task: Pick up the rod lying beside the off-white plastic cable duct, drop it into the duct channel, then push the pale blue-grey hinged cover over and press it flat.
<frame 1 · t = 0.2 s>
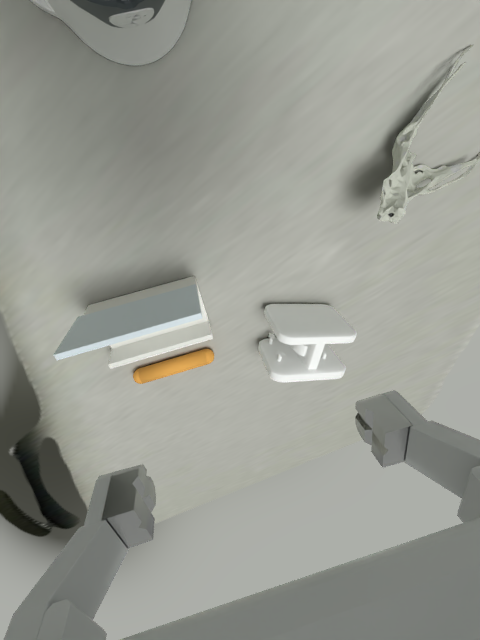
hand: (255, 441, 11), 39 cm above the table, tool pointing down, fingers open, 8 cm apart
rod: (174, 361, 57), on the table
duct: (152, 314, 51), on the table
skeletal model: (403, 155, 46), on the table
cable organizer: (292, 323, 59), on the table
cover: (134, 317, 39), point 10 cm above the table, hinge at 95.0°
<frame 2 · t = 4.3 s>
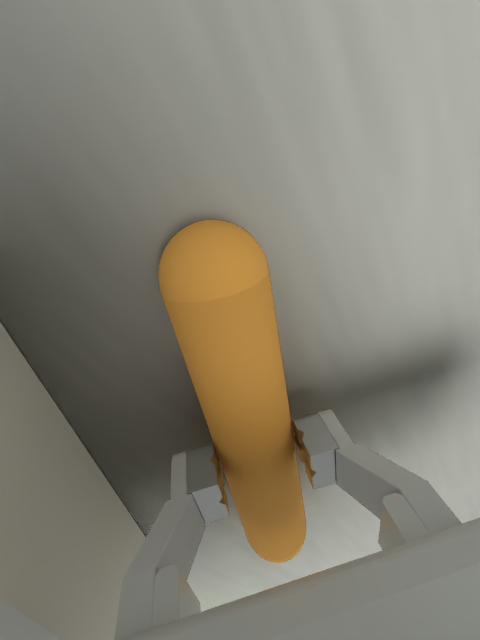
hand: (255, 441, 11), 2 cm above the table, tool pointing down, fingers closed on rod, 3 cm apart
rod: (245, 406, 12), on the table, touching gripper
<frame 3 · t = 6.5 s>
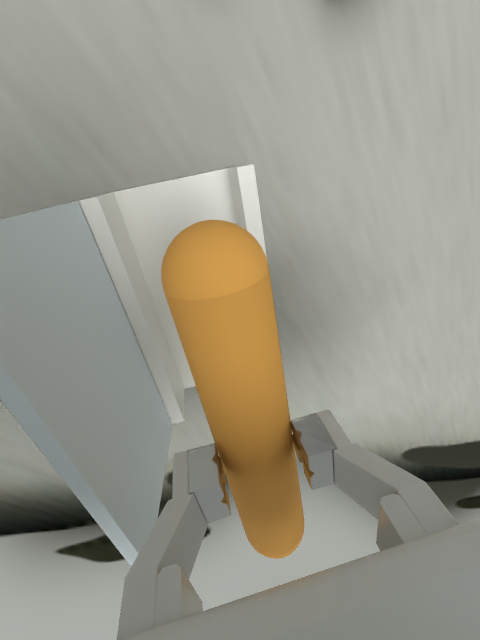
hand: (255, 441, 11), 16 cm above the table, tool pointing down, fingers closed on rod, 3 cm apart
rod: (245, 404, 13), point 14 cm above the table, touching gripper
duct: (201, 293, 25), on the table
cover: (106, 384, 16), point 10 cm above the table, hinge at 95.0°
when the fingers open (7 cm above the table, at t = 8.7 s): rod drops 4 cm, resting on duct.
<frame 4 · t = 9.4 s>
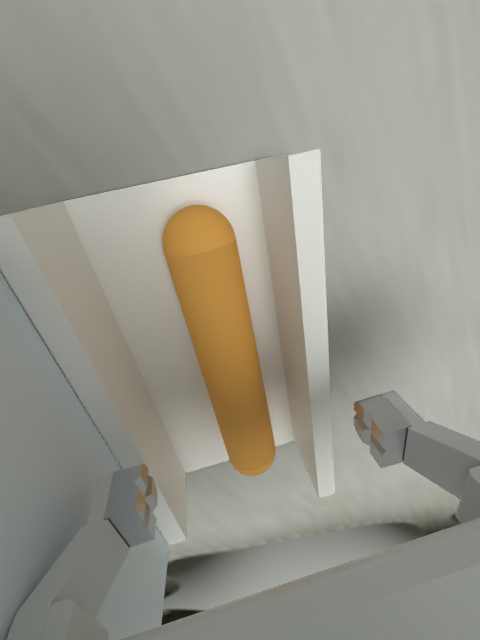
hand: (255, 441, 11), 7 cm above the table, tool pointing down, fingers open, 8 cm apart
rod: (228, 351, 16), point 1 cm above the table, touching duct
duct: (210, 347, 17), on the table
cover: (32, 601, 8), point 10 cm above the table, hinge at 95.0°, touching gripper
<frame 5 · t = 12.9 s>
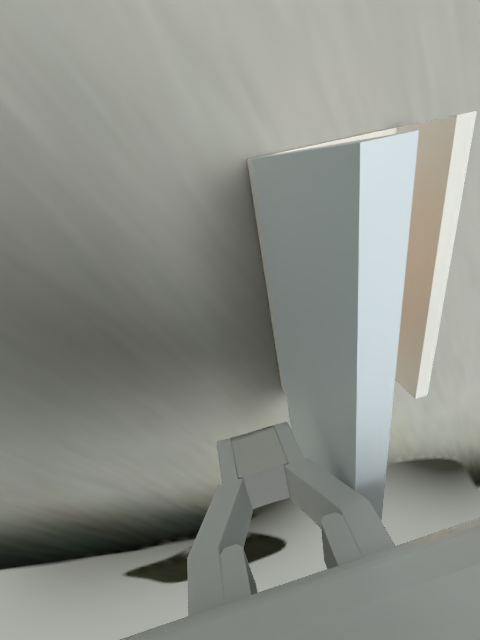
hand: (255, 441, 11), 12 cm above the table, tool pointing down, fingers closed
duct: (331, 280, 22), on the table
cover: (311, 388, 13), point 10 cm above the table, hinge at 95.0°, touching gripper
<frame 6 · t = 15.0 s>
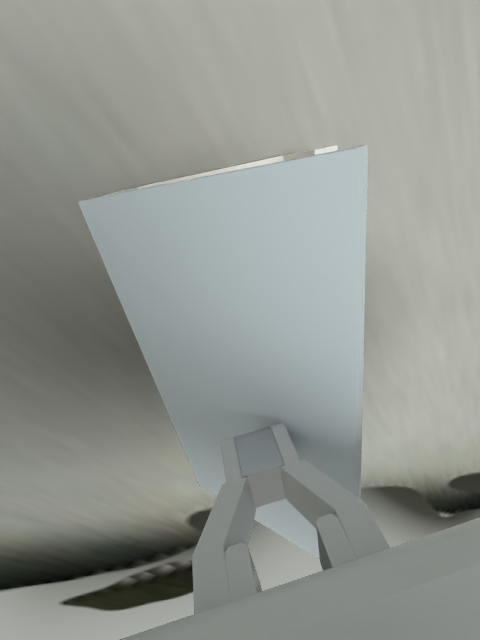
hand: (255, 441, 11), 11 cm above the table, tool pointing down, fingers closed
duct: (240, 312, 20), on the table
cover: (237, 407, 13), point 9 cm above the table, hinge at 44.0°, touching gripper
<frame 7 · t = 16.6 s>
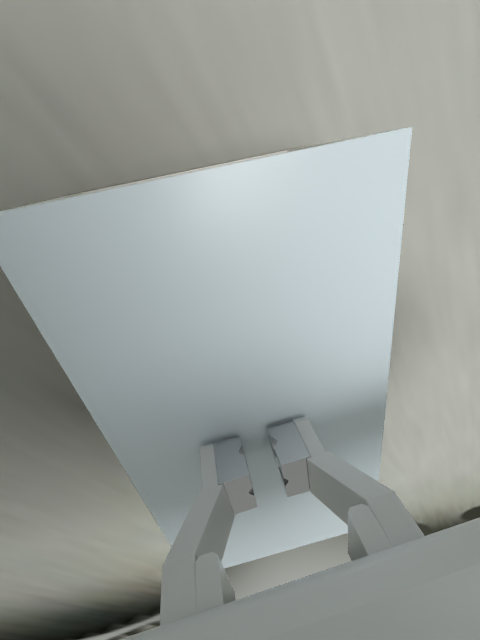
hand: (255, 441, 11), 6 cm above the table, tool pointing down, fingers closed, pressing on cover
duct: (230, 349, 16), on the table
cover: (257, 429, 11), point 6 cm above the table, hinge at 3.1°, touching gripper
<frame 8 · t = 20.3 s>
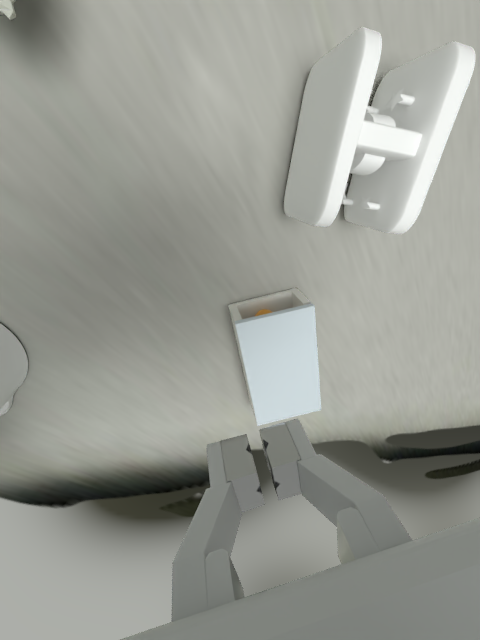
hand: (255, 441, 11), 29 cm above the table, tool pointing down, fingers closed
duct: (270, 348, 45), on the table
cable organizer: (331, 151, 34), on the table
cover: (282, 370, 40), point 6 cm above the table, hinge at 2.8°
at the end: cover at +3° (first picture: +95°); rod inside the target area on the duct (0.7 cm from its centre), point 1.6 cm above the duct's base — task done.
